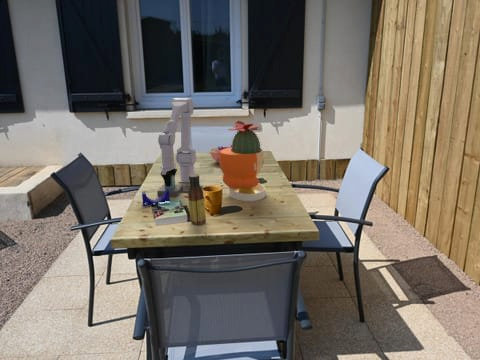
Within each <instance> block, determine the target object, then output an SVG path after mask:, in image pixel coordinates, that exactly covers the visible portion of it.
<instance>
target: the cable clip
mask: <svg viewBox="0 0 480 360" xmlns="http://www.w3.org/2000/svg"><path fill="white" fill-rule="evenodd" d="M170 197H171V196H169V190H168V189H166V190H165V194H164V195H162V196H159V197H158V198H155V199H152V198H149V197H148V196H147V194H146V191H141V198H142V206H143V207H148V206H149V207H150V206H152V205H151V204H152V203H158V202H165V201H170V202H171V199H170Z"/></svg>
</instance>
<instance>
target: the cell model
mask: <svg viewBox="0 0 480 360" xmlns="http://www.w3.org/2000/svg"><path fill="white" fill-rule="evenodd" d="M230 147H232V144H230V145H229V146H218V147H215V148H211V149H210V150H209V151H208V152H209V154H210V157H211V158H212V160H214V161H215V162H216V163H219V156H220V151H221V150H223V149H226V148H230ZM219 164H220V163H219Z"/></svg>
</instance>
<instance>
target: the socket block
mask: <svg viewBox="0 0 480 360" xmlns="http://www.w3.org/2000/svg"><path fill="white" fill-rule="evenodd" d="M183 189H184V186H183V184H175V188H174V189H168V190H169V196H170V197H179V196H180V194H181V193H182V190H183ZM165 190H166V189H165V185H164V184H162V185H161V186H160V187H159V188H158V189H157V192H156V194H157V197H161V196H162V195H164V194H165Z"/></svg>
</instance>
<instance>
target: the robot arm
mask: <svg viewBox="0 0 480 360" xmlns="http://www.w3.org/2000/svg"><path fill="white" fill-rule="evenodd" d="M171 109H172V112H171V114H170V119H169V120H167V121H166V123H165V126H164V128H163V131H162V132H161V133H160V134H159V135H158V137H157V139H158V140H157V142H158V146H159V148H160V150H161V163H162V165H161V166H160V168H159V169H161V171H160V176H161V177H162V179H163V183H164V182H165V185H166V186H167V187H170V186H171V177H172V175H175V176H176V175H177V171H178V169H177V168H176V167H177V164H178V166H179V172H180V175H179V176H180V179H179V181H178V183H190V180H189V175H192V174H196V173H195V164H196V162H197V154H196V153H197V152H196V149H195V148H194V147H192V146H191V138H192V137H191V135H192V134H191V131H192V130H191V128H192V127H191V125H192V122H191V121H192V119H191V117H192V115H193V114H194V101H193V99H192V98H191V97H187V98H186V97H184V98H183V97H182V98H181V97H174V98H172V100H171ZM180 118H181V119H180ZM179 119H180V145H181V146H180V147H179V148H178V149H176V155H174V154H175V152H174V144H175V142H176V133H177V130H178V127H179V125H178V121H179ZM175 161H176V162H175Z"/></svg>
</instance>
